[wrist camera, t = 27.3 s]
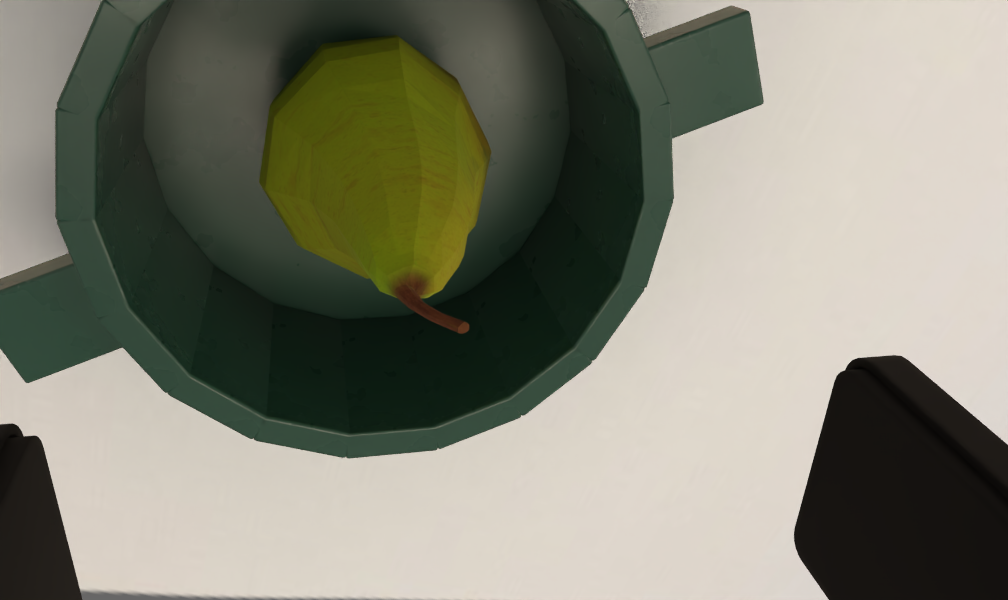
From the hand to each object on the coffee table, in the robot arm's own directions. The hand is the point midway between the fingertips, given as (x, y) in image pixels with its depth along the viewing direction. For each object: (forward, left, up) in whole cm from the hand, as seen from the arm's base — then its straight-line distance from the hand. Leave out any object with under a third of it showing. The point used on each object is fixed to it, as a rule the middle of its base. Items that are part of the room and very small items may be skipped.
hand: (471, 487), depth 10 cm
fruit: (0, 0, -17) cm, 17 cm away
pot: (0, 0, -18) cm, 18 cm away
